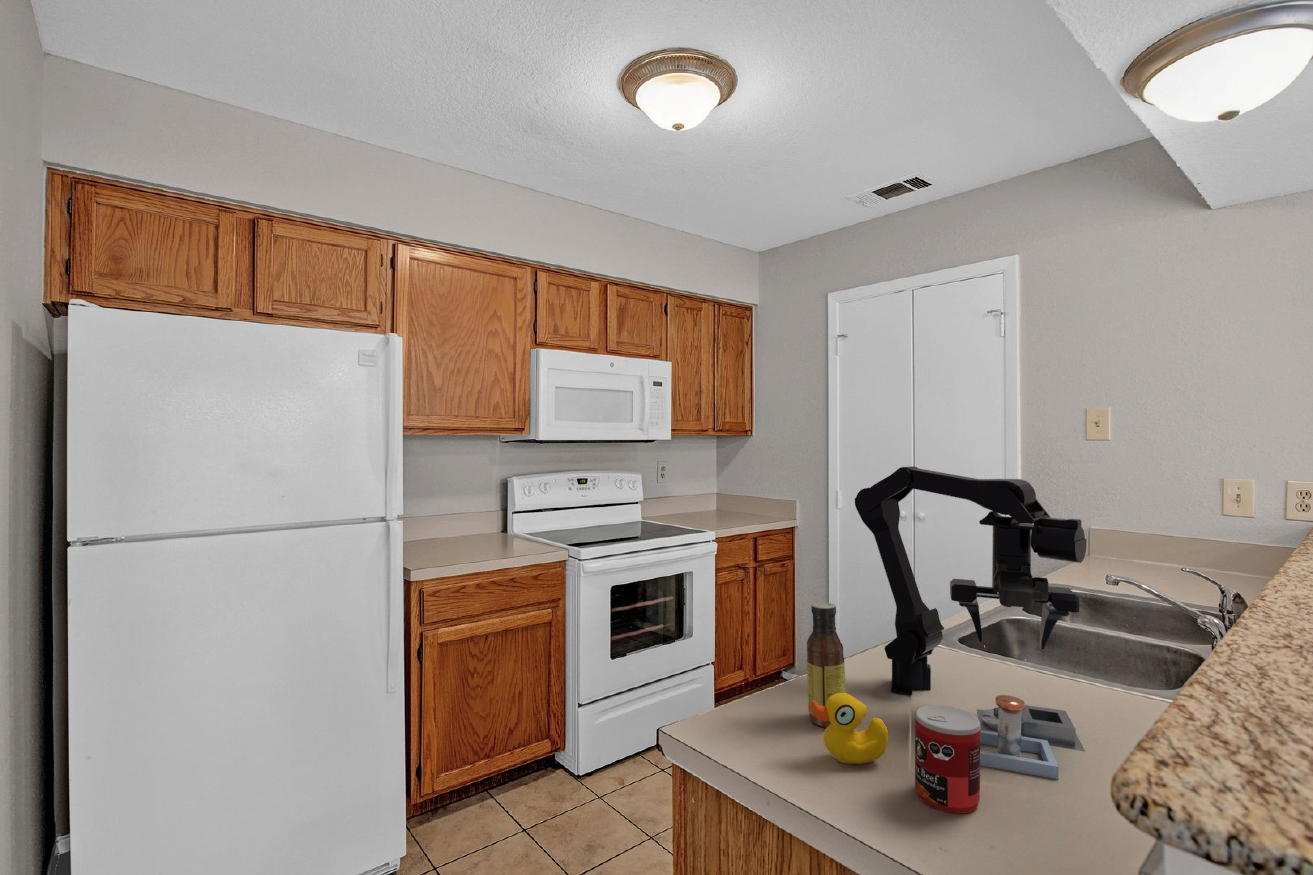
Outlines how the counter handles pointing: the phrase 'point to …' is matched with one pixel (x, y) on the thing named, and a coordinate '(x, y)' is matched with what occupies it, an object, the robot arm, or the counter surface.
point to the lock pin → (1009, 724)
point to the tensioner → (1038, 725)
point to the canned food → (947, 758)
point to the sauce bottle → (824, 659)
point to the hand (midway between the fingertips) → (1010, 645)
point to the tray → (1018, 763)
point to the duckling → (850, 730)
